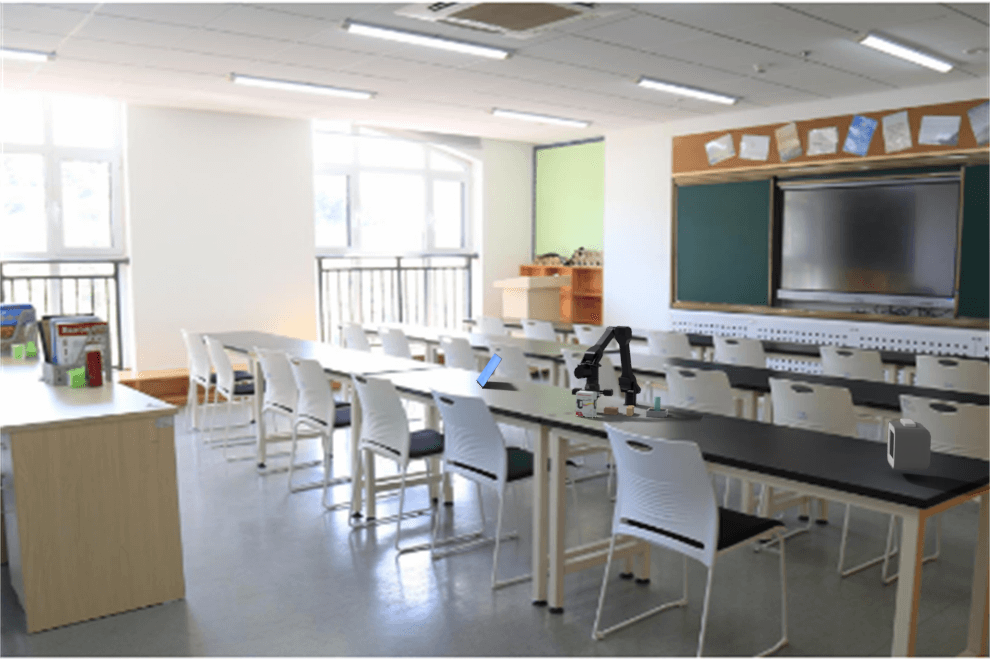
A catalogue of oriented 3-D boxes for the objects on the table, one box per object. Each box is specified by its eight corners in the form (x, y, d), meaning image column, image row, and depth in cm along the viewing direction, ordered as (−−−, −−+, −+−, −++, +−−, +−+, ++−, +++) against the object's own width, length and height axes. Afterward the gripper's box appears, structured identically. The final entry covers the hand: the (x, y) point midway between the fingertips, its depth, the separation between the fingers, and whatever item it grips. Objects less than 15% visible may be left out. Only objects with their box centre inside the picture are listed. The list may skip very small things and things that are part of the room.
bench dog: (628, 413, 406) (628, 405, 406) (634, 413, 405) (634, 405, 405) (626, 415, 398) (626, 408, 398) (631, 416, 398) (631, 408, 397)
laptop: (440, 385, 506) (440, 354, 505) (495, 384, 511) (495, 353, 509) (444, 392, 477) (444, 359, 476) (502, 391, 481) (502, 358, 480)
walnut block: (605, 412, 408) (605, 406, 408) (618, 413, 407) (618, 407, 406) (603, 415, 403) (603, 408, 402) (616, 415, 401) (616, 409, 401)
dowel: (652, 414, 399) (653, 397, 398) (656, 413, 401) (656, 396, 400) (657, 415, 397) (658, 397, 396) (661, 414, 399) (661, 397, 398)
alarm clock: (886, 460, 304) (888, 416, 303) (922, 462, 301) (923, 417, 300) (893, 470, 289) (895, 424, 288) (931, 473, 285) (933, 426, 284)
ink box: (575, 417, 394) (575, 391, 393) (579, 415, 399) (579, 390, 398) (592, 418, 390) (593, 392, 389) (596, 417, 395) (597, 391, 394)
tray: (648, 413, 404) (648, 408, 404) (668, 414, 402) (668, 408, 402) (646, 416, 396) (646, 411, 396) (666, 417, 393) (666, 412, 393)
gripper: (569, 378, 400) (569, 412, 402) (609, 379, 395) (609, 413, 396) (574, 375, 411) (574, 408, 412) (613, 376, 406) (613, 410, 407)
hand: (592, 410), depth 407 cm, fingers closed
